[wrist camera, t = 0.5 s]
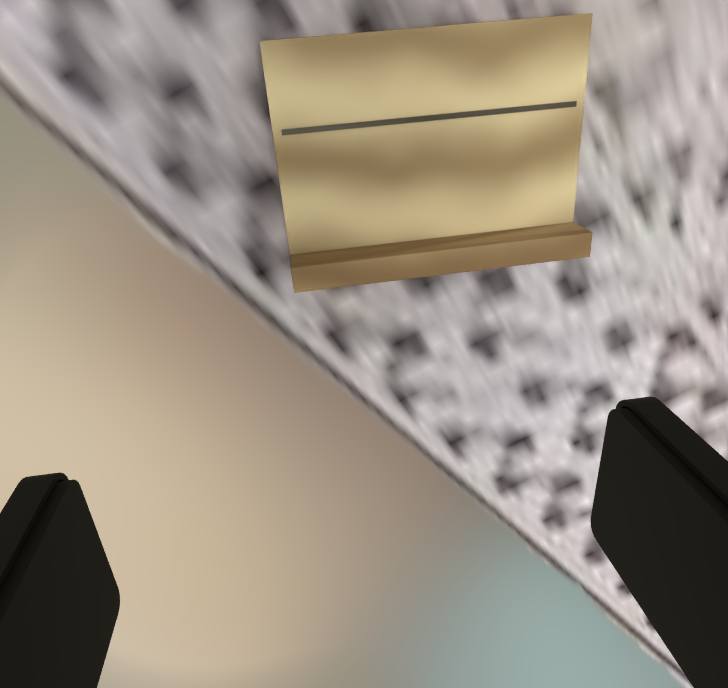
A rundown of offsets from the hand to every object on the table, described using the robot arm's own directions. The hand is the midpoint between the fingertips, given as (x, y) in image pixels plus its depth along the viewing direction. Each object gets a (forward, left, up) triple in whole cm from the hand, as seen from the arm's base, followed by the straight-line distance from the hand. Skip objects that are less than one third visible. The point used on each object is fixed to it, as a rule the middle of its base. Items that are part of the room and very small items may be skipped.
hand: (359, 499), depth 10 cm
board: (-2, +8, -28) cm, 29 cm away
